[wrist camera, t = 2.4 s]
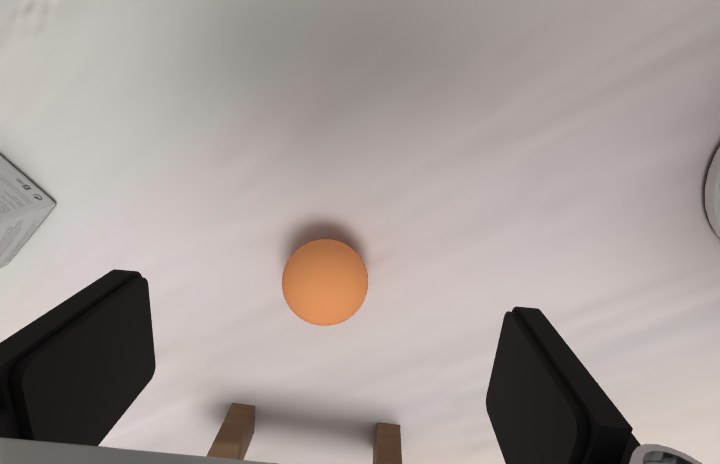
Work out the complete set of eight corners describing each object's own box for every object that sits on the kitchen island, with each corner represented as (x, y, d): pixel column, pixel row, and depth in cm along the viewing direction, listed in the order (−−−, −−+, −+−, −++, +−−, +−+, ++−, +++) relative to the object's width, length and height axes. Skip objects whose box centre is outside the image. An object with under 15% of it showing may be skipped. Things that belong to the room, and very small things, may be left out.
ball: (294, 223, 30) (274, 252, 24) (374, 233, 30) (371, 264, 24) (290, 294, 32) (269, 337, 26) (364, 304, 32) (360, 348, 26)
